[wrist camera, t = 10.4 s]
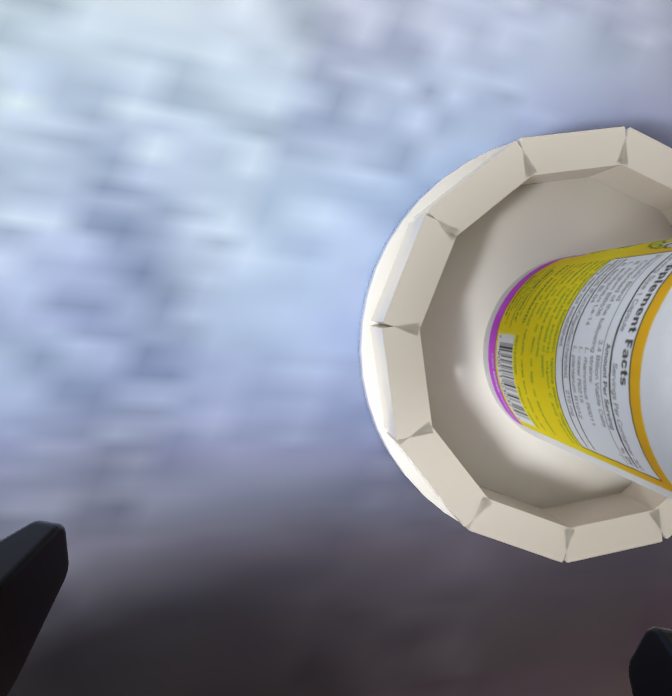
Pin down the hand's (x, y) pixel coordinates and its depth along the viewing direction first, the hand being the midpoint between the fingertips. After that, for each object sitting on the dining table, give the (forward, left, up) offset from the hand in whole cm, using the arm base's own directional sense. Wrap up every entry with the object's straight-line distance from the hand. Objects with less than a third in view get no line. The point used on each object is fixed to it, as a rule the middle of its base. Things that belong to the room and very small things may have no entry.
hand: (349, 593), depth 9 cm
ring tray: (+10, -4, -12) cm, 16 cm away
